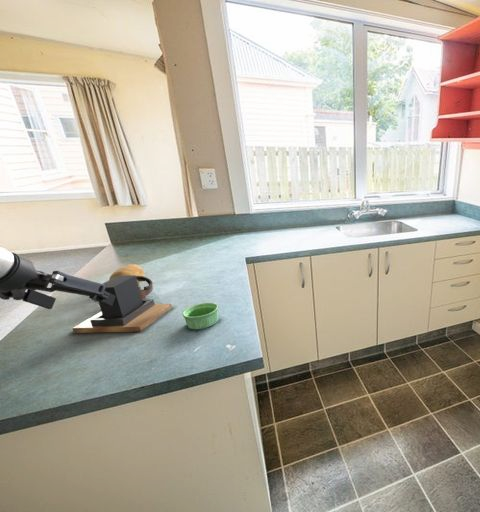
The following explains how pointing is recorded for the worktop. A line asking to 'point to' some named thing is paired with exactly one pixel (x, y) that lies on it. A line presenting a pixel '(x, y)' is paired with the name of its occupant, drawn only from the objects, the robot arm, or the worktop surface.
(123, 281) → the dark gray block
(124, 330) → the wooden base board
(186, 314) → the ramekin
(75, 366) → the worktop surface
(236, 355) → the worktop surface
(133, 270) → the tan rounded piece
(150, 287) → the pottery mug
